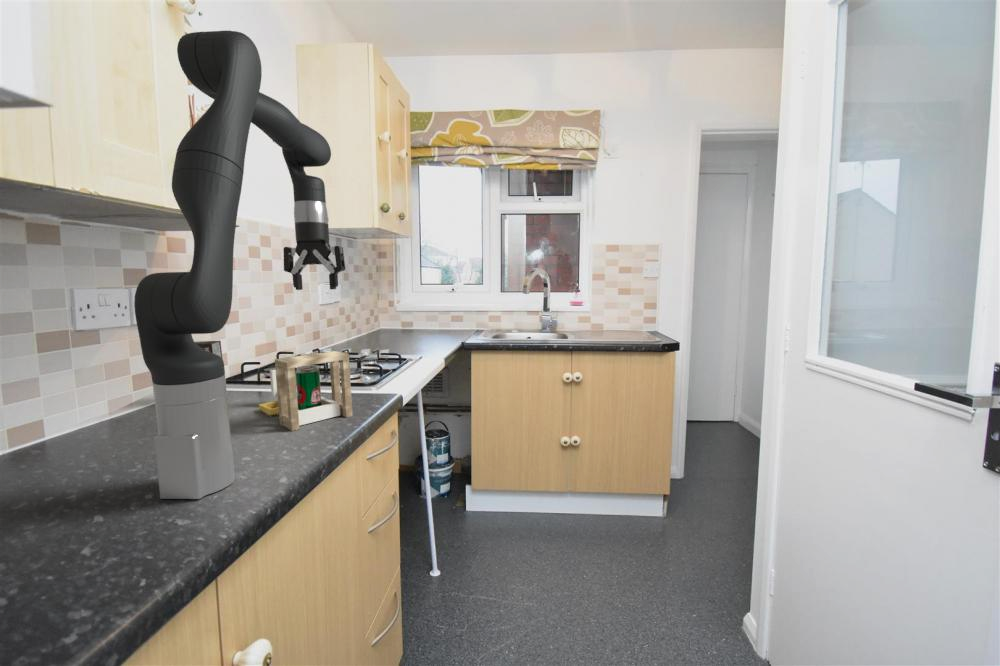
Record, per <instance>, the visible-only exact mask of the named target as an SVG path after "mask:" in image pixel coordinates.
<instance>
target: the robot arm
mask: <svg viewBox="0 0 1000 666" xmlns="http://www.w3.org/2000/svg"><path fill="white" fill-rule="evenodd" d="M176 53H177V59H178V62H179V65H180V67H181V69H182V72H183V74H184V76H186V78H187V79H188V81H189V82H190V83H191V84H192V85H193V86H194V87H195V88H196V89H198V90H199V91H200V92H201V93H203V94H204V95H206V96H207V97H209V98H211V99H213V102H211V103H212V104H211V105H210V106H209V107H208V109H207V110H206V111H205V112H204V113H203V114H202V116H200V118H198V120H197V121H196V122H195V123H194V124H193V125H192V126H191V128H190V129H189V130H188V131H187V132H186V134H185V135H184V136H183V138H182V139H181V141H180V143H179V144H178V146H177V149H176V153H175V158H174V159H175V160H174V166H173V170H172V176H171V191H172V195H173V197H174V199H175V201H176V203H177V206H178V207H179V209H180V211H181V213H182V214H183V217H184V219H185V220H186V222H187V224H188V227H189V228H190V230H191V232H192V237H193V257H192V264H191V268H190V270H189V271H179V272H178V271H173V272H171V271H169V272H167V271H166V272H154V273H150V274H148V275H146V276H145V277H143V278H142V279H141V280H140V281H139V282H138V285H137V287H136V290H135V293H134V316H135V322H136V325H137V326H136V327H137V333H138V337H139V342H140V347H141V353H142V358H143V362H144V364H145V366H146V368H147V369H148V370H149V372H150V374H151V381H152V382H151V383H152V389H153V397H154V406H155V415H156V425H157V435H155V436H154V438H153V447H154V456H155V457H154V458H155V463H156V472H157V481H158V488H159V489H158V490H159V497H160V499H161V500H163V499H164V500H166V499H167V500H173V499H174V500H201V499H202V498H204V497H206V496H207V495H210V494H213V493H217V492H219V491H221V490H223V489H225V488H226V487H229V486H230V485H232V484H233V483H234V481H235V479H236V477H235V476H236V475H235V467H234V465H235V463H234V455H233V454H234V453H233V446H232V445H233V443H232V435H231V425H230V415H229V414H230V413H229V403H228V402H229V401H228V393H227V392H228V391H227V380H226V371H225V363H224V362H225V361H224V359H223V357H222V358H221V357H220V356H218V355H216V354H213V353H211V352H208V351H206V350H204V349H202V348H201V347H199V346H198V345H197V344H196V343H195V342H196V341H194V338H193V335H201V334H202V335H204V334H205V335H207V334H214V333H216V332H219V331H221V330H222V329H223V328H224V326H226V324H227V322H228V320H229V317H230V314H231V310H232V303H233V290H234V289H233V285H234V283H233V280H234V248H235V236H236V235H235V234H236V227H237V226H236V225H237V219H238V217H237V216H238V212H239V211H238V210H239V206H240V205H239V204H240V199H241V193H242V187H243V179H244V173H245V172H244V171H245V159H246V152H247V145H248V139H249V133H250V127H251V124H253V125H254V126H256V127H257V128H258V129H260V130H261V131H262V132H263V133H264V134H265V135H267V137H268V138H270V140H272V141H273V142H274V143H275V144H276V145H277V146H278V147H280V148H281V151H282V155H283V159H284V161H285V164H286V167H287V169H288V172H289V177H290V179H291V183H292V187H293V199H294V200H293V201H294V202H293V204H294V206H293V217H294V218H293V219H294V229H295V231H294V232H295V241H296V242H295V243H296V246H295V247H291V246H290V247H289V246H284V247H283V270H284V272H286V273H290V274H291V275H292V284H293V288H295V290H296V291H301V290H304V289H303V288H304V287H303V278H302V277H303V276H302V274H301V273H303V272H302V271H303V270H304V269H305V268H306V267H307V265H323V267H324V268H325V269H327V271H328V272H329V273H328V279H329V290H337V288H338V287H339V276H338V274H339V273H341V272H344V271H346V263H345V254H344V247H343V246H341V245H335V246H331V245H330V233H329V231H330V230H329V215H328V207H327V201H326V187H325V182H324V180H323V179H322V178H321V177H319V176H318V177H317V176H314V175H309V174H307V173H306V171H305V168H309V167H310V168H311V167H312V168H314V167H315V168H316V167H324V166H326V165H327V164H329V162H330V160H331V156H332V150H331V147H330V144H329V142H328V141H327V140H326V138H325V137H324V136H323V135H322V134H321V133H320V132H318V131H317V130H315V129H313V128H312V127H310V126H308V125H306V124H304V123H302V122H301V121H300V120H299V119H298V118H297V117H296V116H295V115H294V113H293V112H291V110H290V109H289V108H288V107H287V106H285V105H284V104H282V103H281V102H280V101H278V100H276V99H275V98H273V97H270V96H269V95H267V94H264V93H262V92H260V89H261V83H262V78H263V77H262V72H263V71H262V61H261V58H260V52H259V50H258V48H257V46H256V44H255V42H254V41H253V40H252V39H251V38H250V37H249V36H248V35H246V34H245V33H243V32H240V31H233V30H214V31H212V30H211V31H194V32H189V33H185V34H184V35H182V36H181V37H180V38H179V41H178V43H177V52H176ZM331 253H332V255H334V256H335V264H334V262H333V261H332V260H331V258H330V257H329V256H330V255H331ZM296 255H297V256H298V258H297V259H296V262H295V263H294V257H295V256H296Z"/></svg>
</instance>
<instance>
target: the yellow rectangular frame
mask: <svg viewBox="0 0 1000 666" xmlns="http://www.w3.org/2000/svg"><path fill="white" fill-rule="evenodd" d="M260 411H261V412H260ZM258 412H260V413H262V412H263V413H262V414H264V413H265V414H264V415H266V414H267V415H266V416H268V415H269V416H268V417H270V416H272V417H274V416H273V415H276V416H278V415H277V414H279V407H278V400H274V401H270V402H264V403H259V404H258Z"/></svg>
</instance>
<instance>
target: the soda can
mask: <svg viewBox="0 0 1000 666" xmlns="http://www.w3.org/2000/svg"><path fill="white" fill-rule="evenodd" d="M320 375H321V374H320V369H319V367H318V365H317V364H313V365H307V366H301V367H296V370H295V377H296V391H297V400H298V410H304V409H308V408H313V407H317V406H322V402H321V397H322V392H321V391H322V390H321V377H320Z"/></svg>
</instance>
